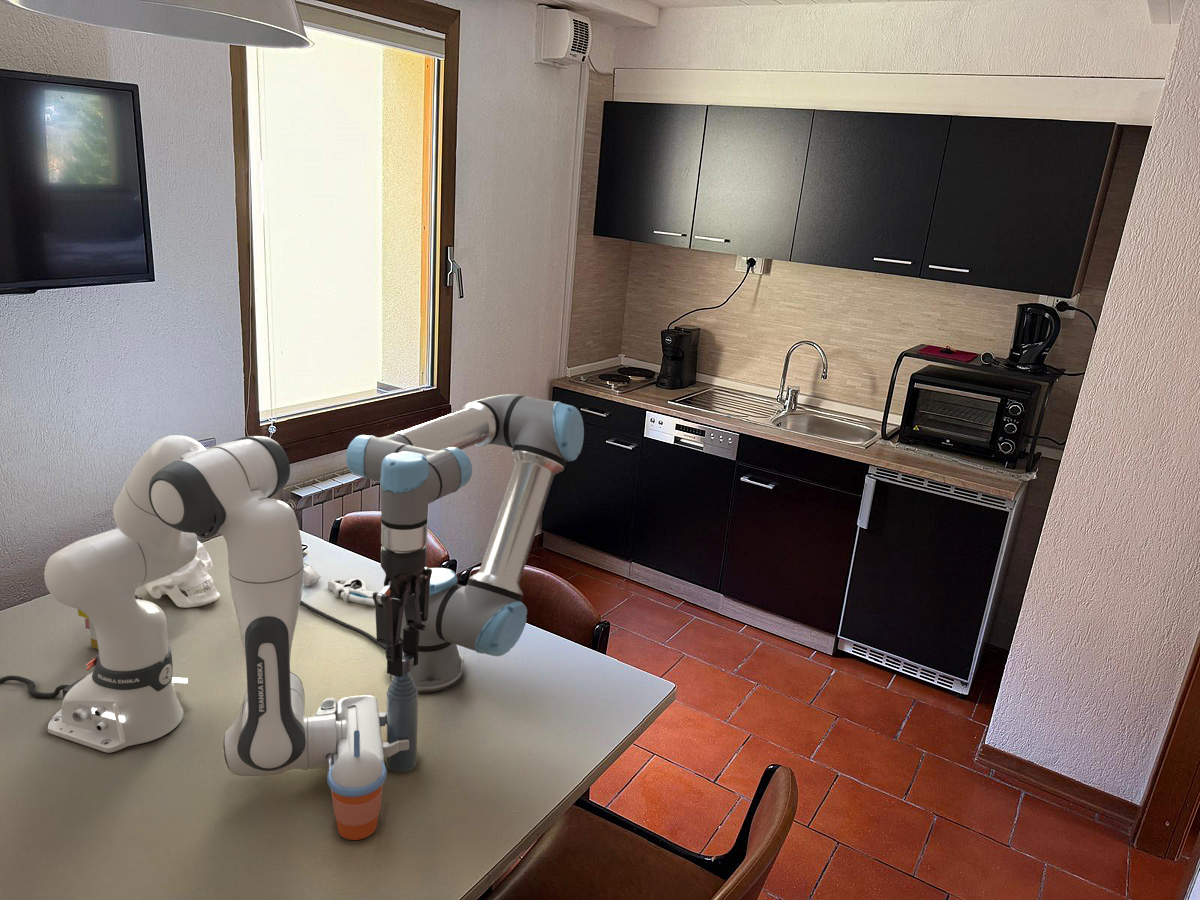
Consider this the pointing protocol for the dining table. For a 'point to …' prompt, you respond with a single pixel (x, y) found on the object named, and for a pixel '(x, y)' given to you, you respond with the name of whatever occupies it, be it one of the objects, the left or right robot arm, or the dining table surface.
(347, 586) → the toy gun
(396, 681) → the bottle
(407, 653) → the cap
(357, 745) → the cup with straw
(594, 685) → the dining table surface
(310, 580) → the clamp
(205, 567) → the skull
